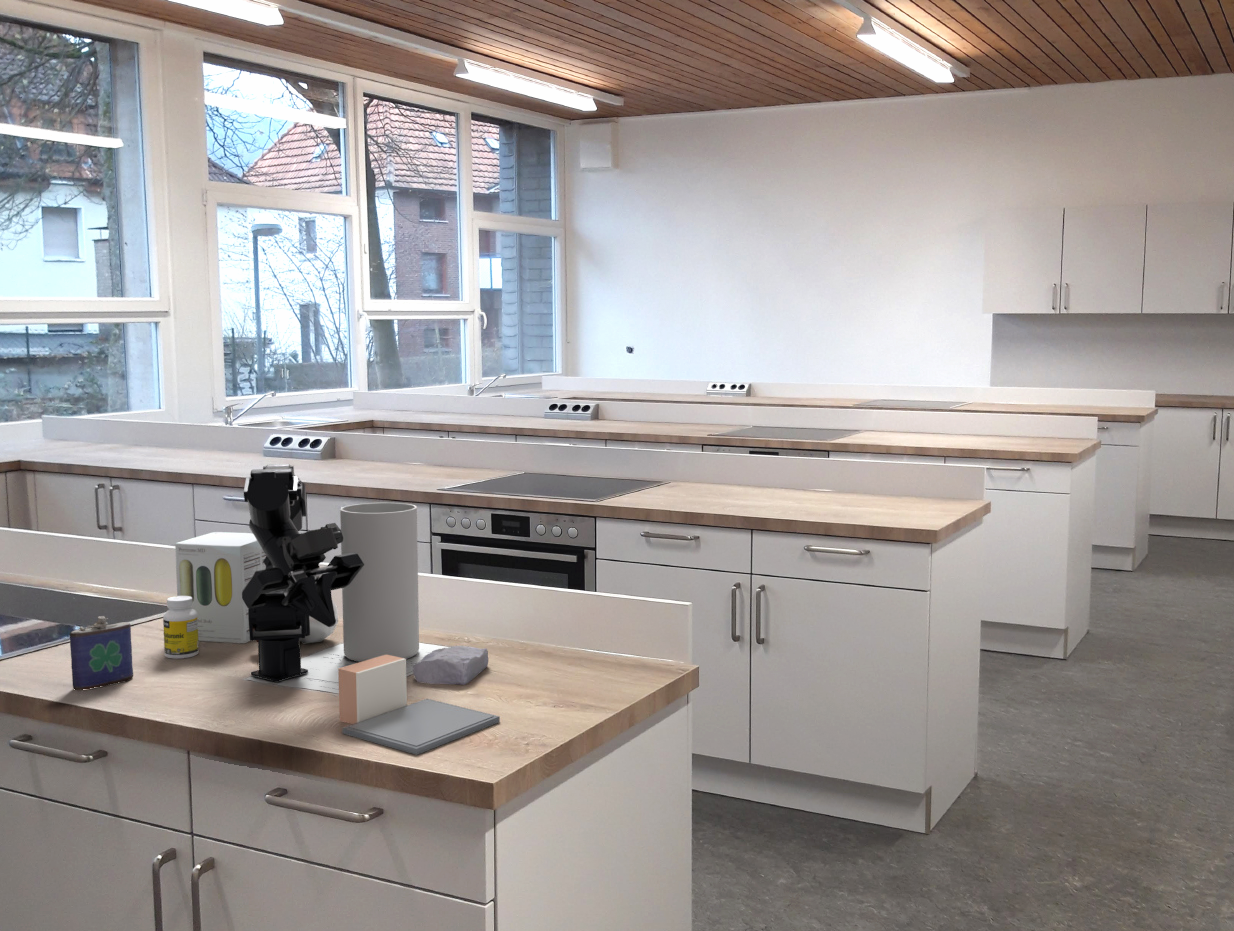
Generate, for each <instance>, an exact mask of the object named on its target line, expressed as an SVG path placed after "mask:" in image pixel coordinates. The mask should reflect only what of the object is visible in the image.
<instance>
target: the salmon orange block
mask: <svg viewBox="0 0 1234 931" xmlns="http://www.w3.org/2000/svg"><path fill="white" fill-rule="evenodd" d="M337 673H338V705H339V706H338V708H339V711H338V712H339V722H343V721H344V722H343V723H346V722H348V724H349V725H352V724H355V723H358V722H361V721H363V720H366V719H369V718H372V717H375V716H378V715H381V714H384V713H387V712H390V711H392V710H395V709H398V708H401V707H404V706H407V705H408V701H407V700H408V698H407V697H408V694H407V691H408V690H407V659H405V658H400V657H396V656H391V655H387V654H386V655H383V656H379V657H376V658H372V659H369V660H366V661H362V662H356V663H352V664H349V665H346V666H343V667H339V668H338V672H337Z"/></svg>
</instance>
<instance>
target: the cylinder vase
mask: <svg viewBox="0 0 1234 931" xmlns="http://www.w3.org/2000/svg"><path fill="white" fill-rule="evenodd" d="M339 511H340V513H339V514H340V515H339V516H340V530H341V532H342V535H343V542H341V543H340V548H341V549H340V550H341V551H340V553H341V554H340V555H342V554H347V553H357V554H358V555H359V557H360V558H361V560H362V561H363V563H364V566H363V567H362V568H361V570H360V571H359V572H358V574H357V575H356V576H355V578H354V579H353V580H352V582H351V583H350V584H349V585H348V586H346V587H344V588H341V589H342V590H341V592H342V593H341V594H342V597H341V599H342V601H341V602H342V631H343V633H342V635H343V638H342V639H343V654H344V656H345V657H346V658H347V659H348V660H351V661H353V660H354V661H353V662H357V661H359V662H362V661H366V660H369V659H372V658H376V657H379V656H383V655H386V654H387V655H391V656H396V657H400V658H405V659H406V660H407V659H410V658H413V657H414V656H415V655H417V653H418V652H419V650H420V618H419V612H420V611H419V610H420V609H419V566H418V565H419V564H418V560H419V559H418V558H419V557H418V556H419V554H418V553H419V552H418V507H417V505H414V504H412V503H404V502H403V503H402V502H369V503H368V502H367V503H357V504H350V505H345V506H342V507H340V510H339ZM359 662H358V663H359Z"/></svg>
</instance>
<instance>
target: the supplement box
mask: <svg viewBox="0 0 1234 931" xmlns="http://www.w3.org/2000/svg"><path fill="white" fill-rule="evenodd" d="M174 548H175V549H174V550H175V568H176V570H175V573H176V574H175V575H176V592H177V593H176V594H177V595H176V596H190V597H192V606H191V609H194V610H195V611H196V612H197V619H198V642H213V643H214V642H215V643H228V644H229V643H230V644H246V643H248V642H251V641H250V633H249V618H248V607H247V606H246V604H245V602H244V601H243V599H242V591H243V589H244V587H245V586H246V584H247V583H248V582H249V580H250V579H251V577H252V576H253V574H254V573H255V571H260V570H265V569H266V565H265V564H264V562H263V560H264V559H265V558H266V554H265V552H264V551H263V549H262V548H261V546H260V544H259V543H258V541H257V539H256V538H255V536H254V534H253V533H252V532H251V533H250V532H249V533H248V532H225V531H213V532H209V533H205V534H202V535H198V536H195V537H192V538H189V539H185V540H182V541H179V542H175V544H174Z"/></svg>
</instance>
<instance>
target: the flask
mask: <svg viewBox="0 0 1234 931" xmlns="http://www.w3.org/2000/svg"><path fill="white" fill-rule="evenodd" d="M107 620H109V617H107V618H106V617H105V615H101V616H97V622H95V623H94V624H92V625H86V627H83V626H79V629H75V630H72V631H71V632H70V633H69V641H70V642H69V646H70V648H69V649H70V660H71V676H72V677H71V678H72V679H71V681H72V689H73V690H74V689H75V690H83V689H89V690H91V689H90V688H94V687H100V686H104V687H107V686H106V685H108V686H110V684H113V685H116V683H117V684H119V683H118V682H121V683H124V681H125V682H128V681H130V680H133V678H134V669H133V668H134V667H133V666H134V665H133V647H132V646H133V644H132V628H131V623H130V622H125V621H124V622H122V621H121V622H117V623H113V624H109V623H108V622H107ZM100 688H101V687H100ZM94 689H95V688H94ZM75 690H74V691H75Z"/></svg>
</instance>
